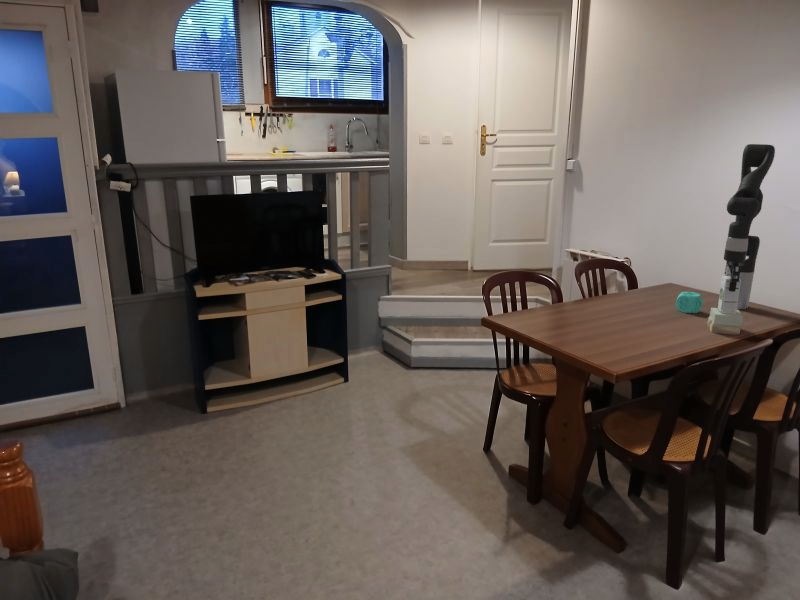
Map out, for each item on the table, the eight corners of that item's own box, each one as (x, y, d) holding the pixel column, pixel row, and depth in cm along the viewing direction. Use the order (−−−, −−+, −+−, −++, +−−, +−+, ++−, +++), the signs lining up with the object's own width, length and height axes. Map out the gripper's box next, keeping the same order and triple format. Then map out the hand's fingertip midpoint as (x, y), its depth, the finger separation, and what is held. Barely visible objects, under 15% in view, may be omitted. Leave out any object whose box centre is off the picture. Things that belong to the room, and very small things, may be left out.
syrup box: (736, 314, 233) (742, 279, 229) (720, 313, 234) (726, 278, 230) (732, 310, 238) (737, 275, 234) (716, 309, 239) (721, 275, 235)
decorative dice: (701, 311, 262) (704, 294, 260) (691, 314, 258) (694, 297, 256) (684, 307, 268) (686, 290, 266) (674, 310, 264) (677, 293, 262)
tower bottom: (707, 325, 244) (708, 316, 243) (734, 328, 241) (735, 318, 240) (711, 333, 235) (712, 323, 234) (739, 335, 232) (740, 326, 231)
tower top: (709, 316, 243) (711, 307, 242) (736, 319, 240) (738, 309, 239) (713, 323, 234) (715, 314, 233) (741, 326, 231) (743, 316, 230)
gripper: (751, 252, 221) (744, 293, 226) (742, 246, 234) (736, 285, 239) (729, 251, 224) (722, 292, 228) (722, 245, 237) (716, 283, 241)
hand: (729, 288), depth 233 cm, fingers open, 8 cm apart
